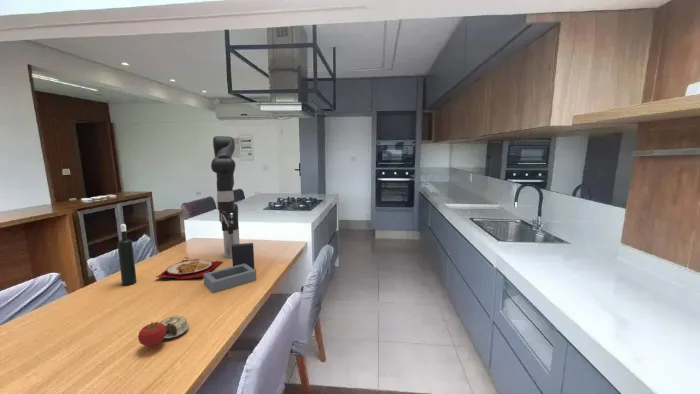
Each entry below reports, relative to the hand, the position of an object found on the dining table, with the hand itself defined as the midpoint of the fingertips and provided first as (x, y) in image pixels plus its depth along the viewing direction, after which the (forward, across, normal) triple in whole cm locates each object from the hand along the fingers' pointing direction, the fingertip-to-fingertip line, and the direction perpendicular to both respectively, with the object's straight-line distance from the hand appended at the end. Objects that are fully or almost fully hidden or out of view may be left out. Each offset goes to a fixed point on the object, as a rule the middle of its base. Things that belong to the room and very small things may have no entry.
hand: (227, 232), depth 142 cm
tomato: (+26, +32, -37) cm, 55 cm away
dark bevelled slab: (+26, -10, +11) cm, 30 cm away
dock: (+26, 0, 0) cm, 26 cm away
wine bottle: (+26, -33, -38) cm, 57 cm away
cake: (+26, +28, -31) cm, 49 cm away
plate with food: (+32, -22, -13) cm, 41 cm away
